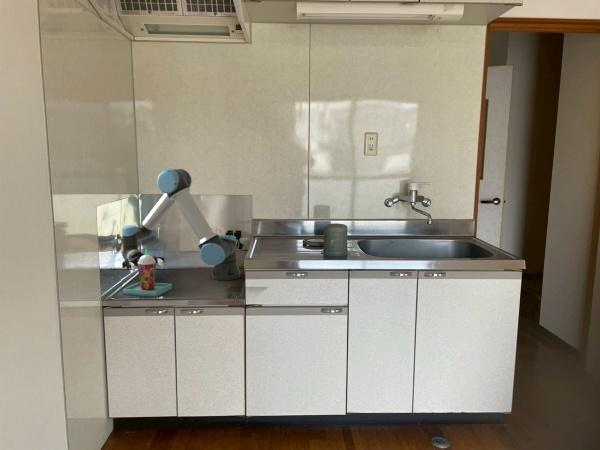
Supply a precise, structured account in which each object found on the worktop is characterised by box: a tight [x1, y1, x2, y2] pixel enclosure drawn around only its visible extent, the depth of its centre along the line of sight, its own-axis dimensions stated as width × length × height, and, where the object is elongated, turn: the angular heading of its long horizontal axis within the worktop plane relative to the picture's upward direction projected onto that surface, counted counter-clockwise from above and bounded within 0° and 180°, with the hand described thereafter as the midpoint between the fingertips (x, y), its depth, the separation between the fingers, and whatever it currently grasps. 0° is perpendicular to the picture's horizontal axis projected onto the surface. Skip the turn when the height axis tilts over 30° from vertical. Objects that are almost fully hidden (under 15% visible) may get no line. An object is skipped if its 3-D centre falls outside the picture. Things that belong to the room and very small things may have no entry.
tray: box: [122, 281, 173, 298], centre depth 222 cm, size 18×14×2 cm
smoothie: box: [137, 248, 157, 291], centre depth 220 cm, size 8×8×20 cm
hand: (148, 265), depth 217 cm, fingers open, 13 cm apart
